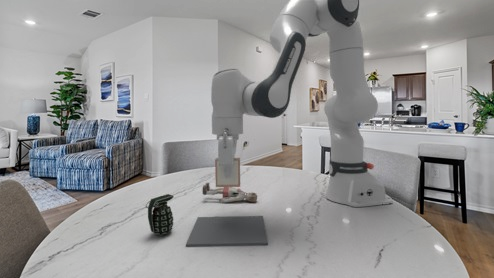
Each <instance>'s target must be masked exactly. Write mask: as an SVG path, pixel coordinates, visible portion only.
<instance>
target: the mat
mask: <svg viewBox="0 0 494 278" xmlns="http://www.w3.org/2000/svg"><path fill="white" fill-rule="evenodd" d="M266 230H267V229H266V226H265V220H264V215H244V216H243V215H240V216H239V215H238V216H237V215H234V216H226V215H225V216H197V218H196V220H195V223H194V225H193V227H192V229H191V232H190V234H189V236H188V239H187V240H186V243H185V247H187V248H189V247H195V248H196V247H226V246H227V247H230V246H231V247H233V246H234V247H235V246H237V247H242V246H243V247H244V246H268V245H269V242H268V236H267V231H266Z"/></svg>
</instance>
